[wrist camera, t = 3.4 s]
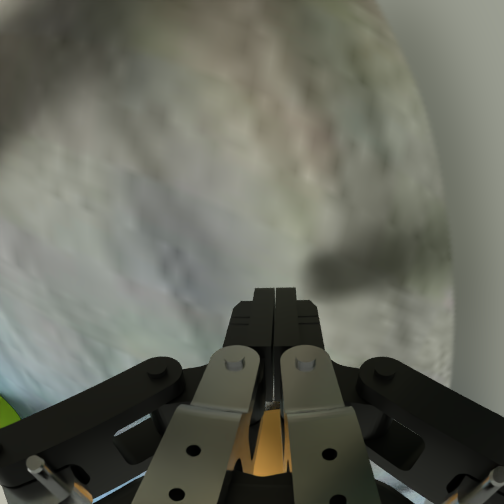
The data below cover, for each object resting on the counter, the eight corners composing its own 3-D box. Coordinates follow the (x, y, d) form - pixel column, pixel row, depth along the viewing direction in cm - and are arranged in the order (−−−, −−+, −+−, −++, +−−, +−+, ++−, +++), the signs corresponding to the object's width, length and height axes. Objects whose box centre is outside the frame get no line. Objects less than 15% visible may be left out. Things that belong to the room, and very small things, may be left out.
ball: (224, 386, 15) (203, 479, 10) (335, 384, 15) (349, 479, 9) (236, 443, 17) (224, 518, 12) (325, 442, 17) (330, 518, 11)
